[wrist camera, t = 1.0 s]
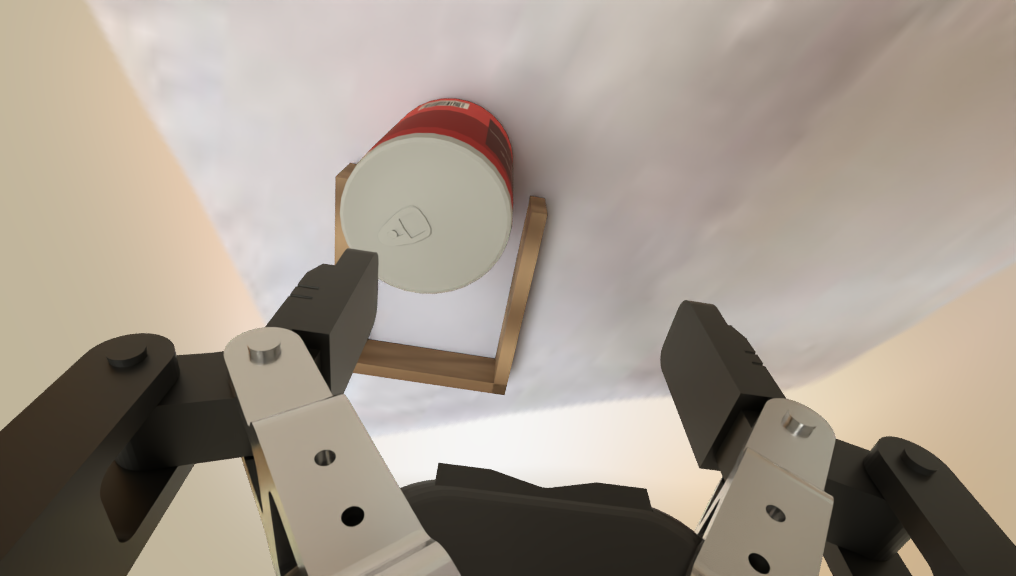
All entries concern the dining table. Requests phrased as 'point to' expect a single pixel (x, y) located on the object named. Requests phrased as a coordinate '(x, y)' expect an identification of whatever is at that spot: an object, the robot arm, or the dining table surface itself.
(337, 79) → the dining table surface
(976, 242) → the dining table surface
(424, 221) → the canned food
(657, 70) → the dining table surface
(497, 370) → the corral
